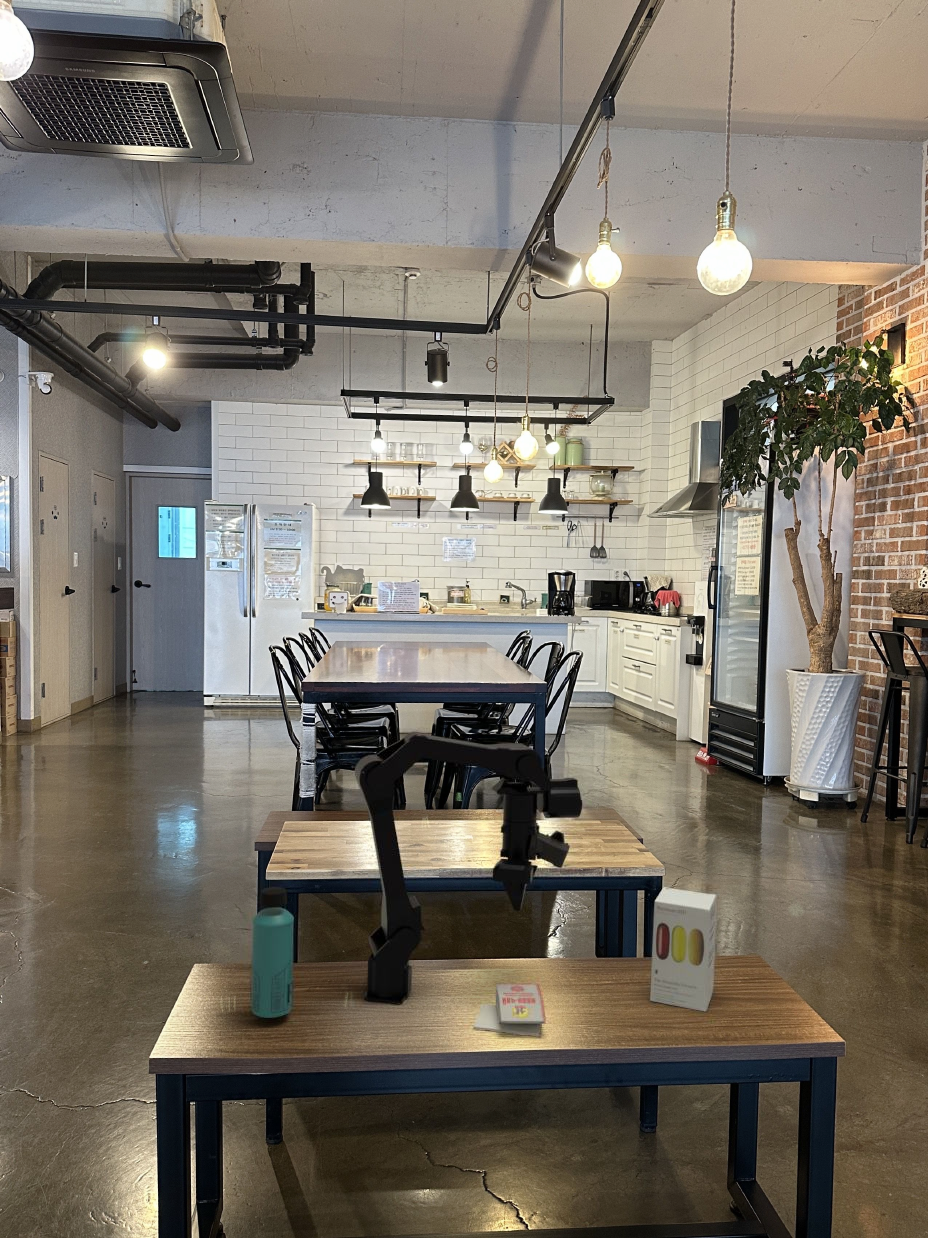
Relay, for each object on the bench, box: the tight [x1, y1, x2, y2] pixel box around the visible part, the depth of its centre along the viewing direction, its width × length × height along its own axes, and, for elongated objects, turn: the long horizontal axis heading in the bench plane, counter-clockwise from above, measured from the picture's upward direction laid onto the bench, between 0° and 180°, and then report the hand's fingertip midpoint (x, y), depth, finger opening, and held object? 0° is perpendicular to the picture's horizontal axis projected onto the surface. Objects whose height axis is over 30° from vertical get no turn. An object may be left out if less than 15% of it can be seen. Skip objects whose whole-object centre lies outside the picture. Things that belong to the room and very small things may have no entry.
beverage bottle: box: [249, 886, 295, 1018], centre depth 141 cm, size 6×7×20 cm
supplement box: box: [649, 886, 718, 1012], centre depth 154 cm, size 10×9×17 cm
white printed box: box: [495, 982, 547, 1025], centre depth 142 cm, size 4×7×10 cm
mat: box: [472, 1003, 546, 1037], centre depth 142 cm, size 10×8×1 cm
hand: (517, 910), depth 156 cm, fingers closed
